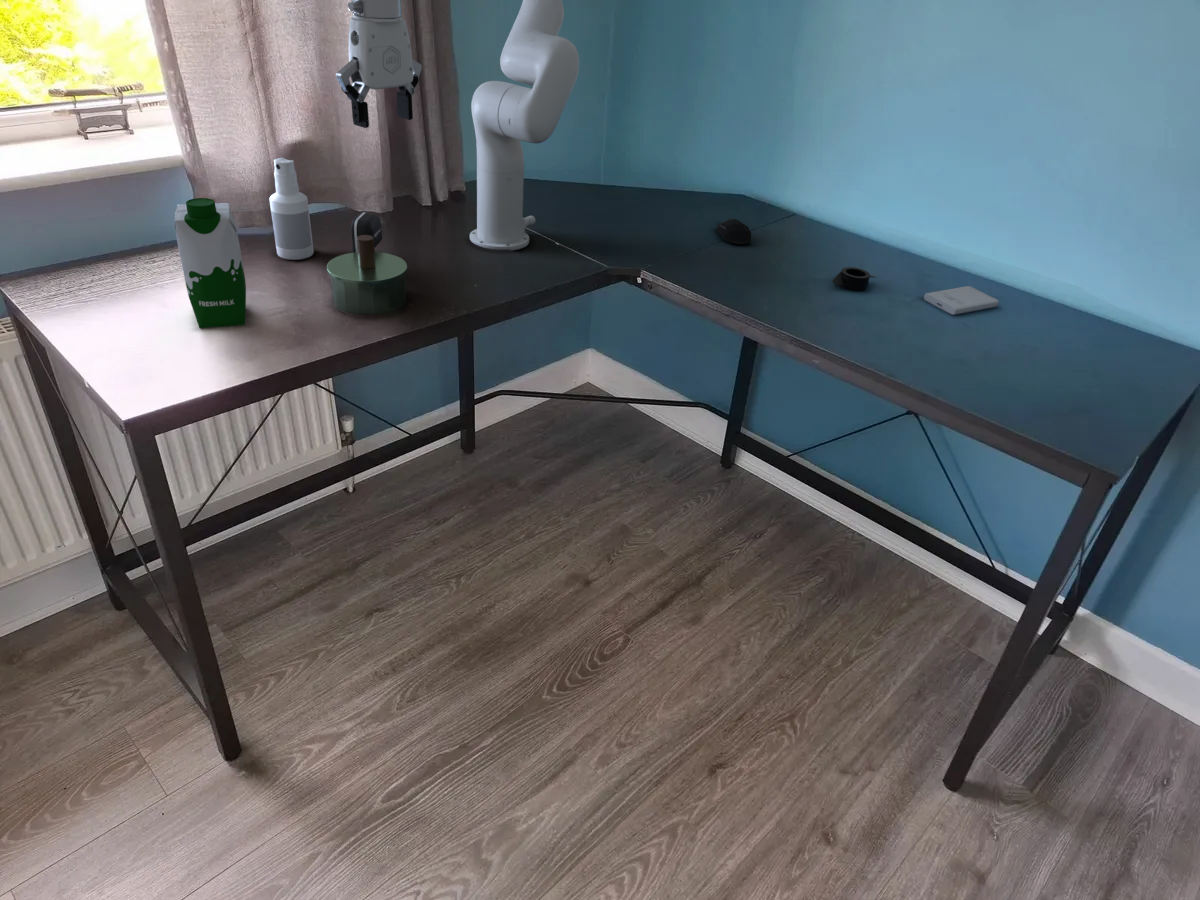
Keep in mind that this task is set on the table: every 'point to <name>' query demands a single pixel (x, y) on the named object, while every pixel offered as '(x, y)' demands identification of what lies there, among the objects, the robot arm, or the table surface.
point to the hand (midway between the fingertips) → (383, 122)
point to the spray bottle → (290, 214)
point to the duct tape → (853, 279)
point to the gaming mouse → (734, 232)
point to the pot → (369, 296)
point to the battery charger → (366, 228)
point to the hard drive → (961, 300)
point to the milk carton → (211, 262)
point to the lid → (366, 265)
